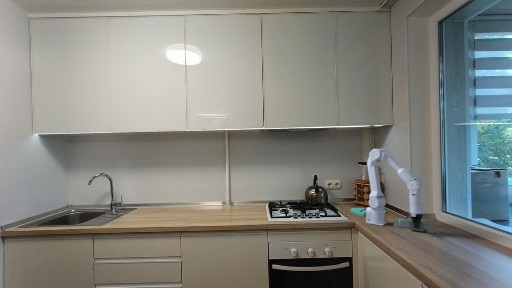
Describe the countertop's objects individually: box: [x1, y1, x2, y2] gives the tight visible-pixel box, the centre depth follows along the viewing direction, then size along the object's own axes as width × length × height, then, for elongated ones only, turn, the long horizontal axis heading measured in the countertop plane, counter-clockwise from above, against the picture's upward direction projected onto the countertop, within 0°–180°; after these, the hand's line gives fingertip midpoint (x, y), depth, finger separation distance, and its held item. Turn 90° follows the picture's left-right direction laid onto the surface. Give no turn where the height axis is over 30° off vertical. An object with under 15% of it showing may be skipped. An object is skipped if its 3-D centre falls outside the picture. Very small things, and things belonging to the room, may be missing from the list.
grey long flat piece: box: [393, 217, 435, 234], centre depth 147 cm, size 19×1×5 cm, turn 48°
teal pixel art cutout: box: [349, 207, 387, 217], centre depth 185 cm, size 20×2×20 cm
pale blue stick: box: [400, 218, 427, 230], centre depth 150 cm, size 12×1×4 cm, turn 74°
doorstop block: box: [409, 219, 425, 232], centre depth 146 cm, size 6×5×5 cm
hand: (417, 228), depth 143 cm, fingers closed, pressing on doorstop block
